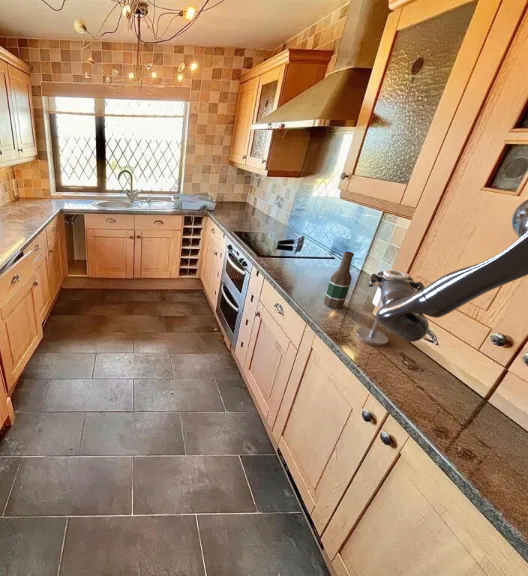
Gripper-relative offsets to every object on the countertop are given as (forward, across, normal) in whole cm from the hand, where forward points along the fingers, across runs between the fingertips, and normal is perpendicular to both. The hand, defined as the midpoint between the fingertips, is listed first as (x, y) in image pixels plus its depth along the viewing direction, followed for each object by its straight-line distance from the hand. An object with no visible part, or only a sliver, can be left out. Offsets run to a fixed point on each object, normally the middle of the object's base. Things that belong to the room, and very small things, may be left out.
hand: (394, 276), depth 102 cm
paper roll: (-2, 0, +10) cm, 10 cm away
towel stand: (-2, 0, +24) cm, 24 cm away
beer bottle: (+18, +14, +24) cm, 33 cm away
